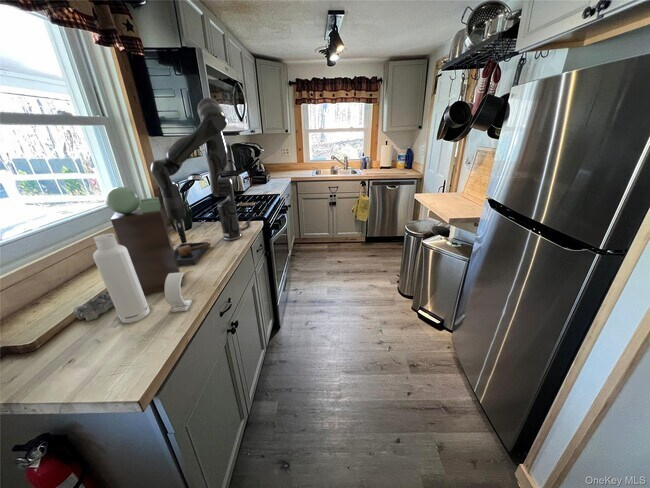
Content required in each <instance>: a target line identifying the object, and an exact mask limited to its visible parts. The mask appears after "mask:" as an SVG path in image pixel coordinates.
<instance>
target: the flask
mask: <svg viewBox="0 0 650 488" xmlns="http://www.w3.org/2000/svg"><path fill="white" fill-rule="evenodd" d="M104 200H105V204H106V206H107V207H108V209H110V210H111V212H113V213H115V212H116V213H119V214H129V213H132V212H134V211H135V210H136V209H141V211H142V214H143V213H150V212H157V211H161V209H160V207H162V204H161V202H160V198H159V196H156V197H148V198H141V199H140V198H139V196H138V194H137V193H136V192H135V191H134V190H133V189H131V188H128V187H126V186H117V187H113V188H110V189H109V190H108V191H107V193H106V195H105V198H104Z"/></svg>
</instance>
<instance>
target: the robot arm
mask: <svg viewBox="0 0 650 488" xmlns="http://www.w3.org/2000/svg"><path fill="white" fill-rule="evenodd" d="M196 110H197V115H198V117H199V120H200V123H199V125H198V126H197V128H196V129H195V130H194V131H193V132H191V133H189V134H187V135H184V136H183V135H182V136H181V137H178V138H177V139H176V140H175V141H174V142H173V143H172V144H171V145H170V146H169V148H168V149H166V157H164V158H163V159H155V160H154V161H152V162H151V163H150V172H151V175H152V176H153V178H154V180H155V183H156V184H157V185H158V187H159V188H160V193H161V196H162V200H163V201H162V202H163V205H164V209H165V212H166V215H167V218H168V219H173V224H174V227H175V230H176V232H177V233H178V237H179V239H180V244H183V243H188V241H187V237H186V232H185V231H186V228H185V222H184V218H183V217H186V216H187V212H186V208H185V203H184V200H183V197H182V194H181V191H180V187H179V184H178V183H177V182H174V181H172V179H171V177H172V176H174V175H176V174H177V173H178V172H179V171H180V169H181V168H182V166H183V164H184V162H186V161H187V160H188V159H189V157H191V156H192V155H193V153H194V152H196V151H197V150H198V149H199V148H200V147H202V146H203V145H204V152H205V159H206V164H207V169H208V175H209V186H210V187H209V188H210V191H211V194H212V196H214V197H216V198H217V197H219V198H220V197H226V198H225V199H223V200H222V201H220V202H218V203H217V205H216V206H217V210H218V216H219V221H220V227H221V230H222V236H223V240H224V241H236V240H238V239H240V238H241V237H242V234H241V231H243V230H246V229H248V228H249V227H251V224H250V221H251V220H254V219H258V218H260V217H262V216H263V215H264V214H265V212H264V211H262V212H261V214H262V215H261V214H260V215H257V216H254V217H253V216H252V217H250V218H249V219H248V220H247V222H246V224H247V226H245V227H241V226H240V222H239V217H238V212H237V206H236V200H235V195H234V185H233V181H232V178H230V177H220V176H221V175H222V173H224V172H225V170H226V168H227V167H228V164H229V158H228V157H229V156H228V149H227V145H226V142H225V138H224V135H223V131H224V130H225V129H226V128H227V124H228V119H227V116H226V114H225V112H224V109H223V108H222V106H221V105H220V103H219V102H218V101H217V100H215V99H214V98H211V97H204V98H202V99H201V100H200V101H199V102H198V104H197V109H196ZM263 212H264V213H263Z"/></svg>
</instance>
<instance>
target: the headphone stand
mask: <svg viewBox="0 0 650 488" xmlns="http://www.w3.org/2000/svg"><path fill="white" fill-rule="evenodd" d="M184 275H185V273H184V271H180V272H179V273H169V274H168V276H167V278H166V281H165V288H164V290H165V291H164V298H165V300H166V302H167V304H168V305H169V306H170V307H172V309H171V312H172V313H177V312H185V311H186V312H187V310H188V309H189V307H190V306H191V304H192V302H193V301H192V299H185V300H184V298H183V296H182V295H183V294H182V290H181V287H182V286H181V280H182V281H183V276H184Z"/></svg>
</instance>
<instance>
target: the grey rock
mask: <svg viewBox="0 0 650 488" xmlns="http://www.w3.org/2000/svg"><path fill="white" fill-rule="evenodd" d="M112 307H114V308H115V306H114V304H113V302H112V299H111V297H110V295H109V293H105V292H101V293H99V294H98V295H97V296H95V297H93V298H92V299H91V298H89V300H88V301H86V302H84V303H83V304H81V305H79V306H76V307H75V308H73V311H72V314H75V316H76V317H77V319H78V320H80V321H81V320H83V319H85V320H86V321H87V322H90V321H92V320H96V319H97V318H99V315H101V314H105V313H107V312H108V311H109V309H111V308H112Z"/></svg>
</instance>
